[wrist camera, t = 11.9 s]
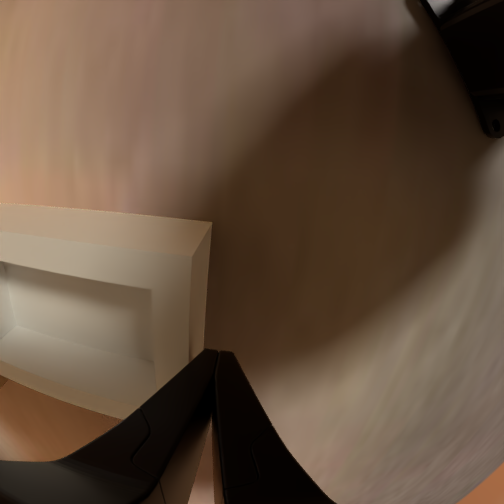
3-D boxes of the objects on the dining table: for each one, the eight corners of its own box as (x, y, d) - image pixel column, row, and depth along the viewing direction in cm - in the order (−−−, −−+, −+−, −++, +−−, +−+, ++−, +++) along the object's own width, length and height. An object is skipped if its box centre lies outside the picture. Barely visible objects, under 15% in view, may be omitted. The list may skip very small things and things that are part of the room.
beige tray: (212, 221, 11) (192, 256, 7) (202, 371, 13) (188, 433, 9) (-2, 201, 10) (-56, 222, 7) (18, 327, 12) (-20, 364, 9)
